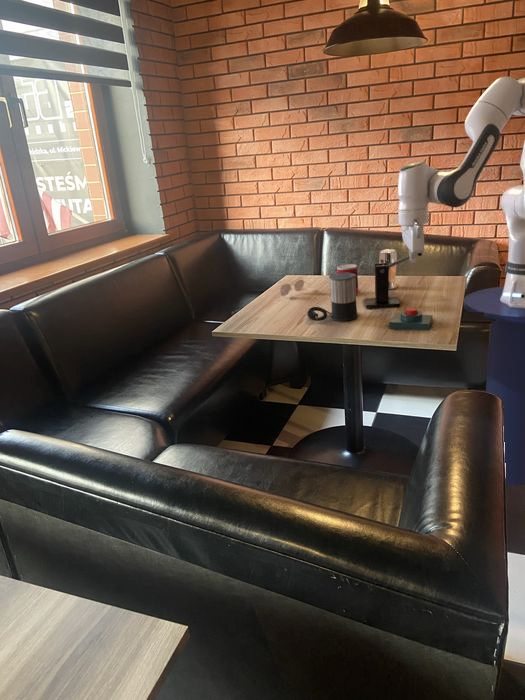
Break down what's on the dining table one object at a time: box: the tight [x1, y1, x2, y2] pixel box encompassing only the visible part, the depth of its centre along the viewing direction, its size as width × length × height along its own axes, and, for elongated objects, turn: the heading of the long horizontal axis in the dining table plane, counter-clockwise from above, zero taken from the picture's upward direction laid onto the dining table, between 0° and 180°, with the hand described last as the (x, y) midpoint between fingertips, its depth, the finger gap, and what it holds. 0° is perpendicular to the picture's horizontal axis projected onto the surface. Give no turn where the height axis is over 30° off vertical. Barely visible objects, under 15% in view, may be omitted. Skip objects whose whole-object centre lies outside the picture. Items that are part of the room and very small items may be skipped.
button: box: [405, 307, 418, 315], centre depth 171 cm, size 4×4×2 cm
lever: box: [383, 253, 423, 268], centre depth 191 cm, size 16×5×2 cm, turn 84°
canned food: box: [336, 263, 359, 295], centre depth 214 cm, size 8×8×11 cm
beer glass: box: [378, 248, 398, 290], centre depth 215 cm, size 7×7×15 cm
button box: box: [389, 310, 434, 331], centre depth 172 cm, size 12×9×4 cm
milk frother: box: [306, 273, 359, 322], centre depth 185 cm, size 14×16×15 cm
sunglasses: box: [279, 279, 318, 300], centre depth 219 cm, size 14×8×5 cm, turn 127°
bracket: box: [364, 262, 401, 309], centre depth 195 cm, size 12×9×15 cm
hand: (413, 261), depth 171 cm, fingers closed
